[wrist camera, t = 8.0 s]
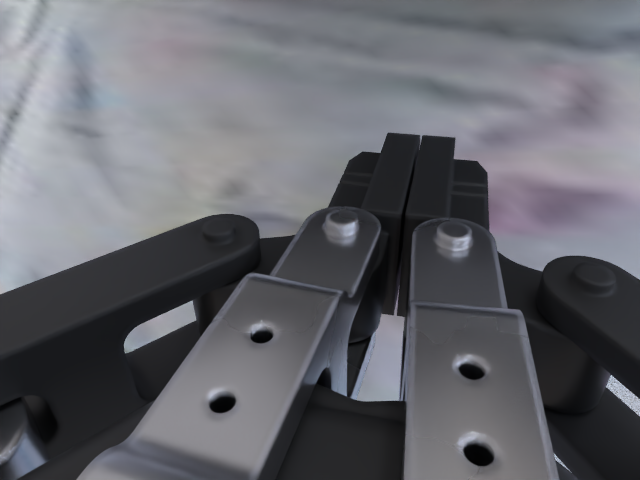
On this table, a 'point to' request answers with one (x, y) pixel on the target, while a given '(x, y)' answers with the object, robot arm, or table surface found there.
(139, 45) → the table surface
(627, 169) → the table surface
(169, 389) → the robot arm
